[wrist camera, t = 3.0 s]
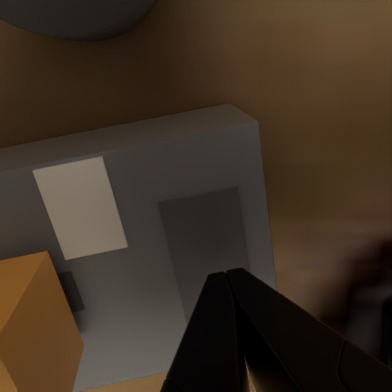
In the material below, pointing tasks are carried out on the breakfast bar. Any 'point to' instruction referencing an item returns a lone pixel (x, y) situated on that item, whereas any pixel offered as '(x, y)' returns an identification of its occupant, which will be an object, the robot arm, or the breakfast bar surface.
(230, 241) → the grey flat block
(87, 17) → the coil
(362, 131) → the breakfast bar surface
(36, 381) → the orange upright box
